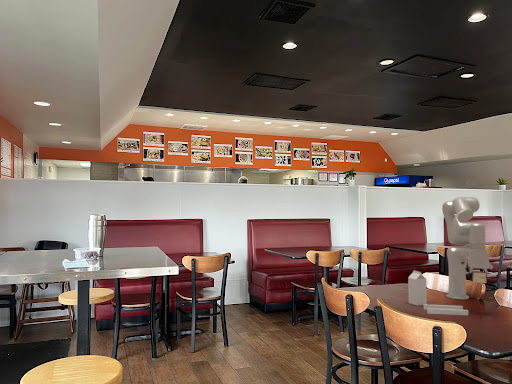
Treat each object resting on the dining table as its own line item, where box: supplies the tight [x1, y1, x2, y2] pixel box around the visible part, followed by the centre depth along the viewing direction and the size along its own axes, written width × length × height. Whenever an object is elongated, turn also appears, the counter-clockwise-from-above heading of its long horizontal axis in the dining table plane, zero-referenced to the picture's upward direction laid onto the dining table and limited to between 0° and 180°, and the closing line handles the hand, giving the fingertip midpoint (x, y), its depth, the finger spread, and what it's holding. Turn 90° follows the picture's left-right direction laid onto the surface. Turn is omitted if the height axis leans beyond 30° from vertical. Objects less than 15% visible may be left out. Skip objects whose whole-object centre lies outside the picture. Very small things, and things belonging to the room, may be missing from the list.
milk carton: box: [407, 269, 428, 306], centre depth 240 cm, size 7×7×19 cm
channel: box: [423, 304, 469, 316], centre depth 222 cm, size 10×20×2 cm, turn 80°
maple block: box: [471, 270, 487, 284], centre depth 220 cm, size 6×6×5 cm
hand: (477, 280), depth 220 cm, fingers closed on maple block, 6 cm apart
